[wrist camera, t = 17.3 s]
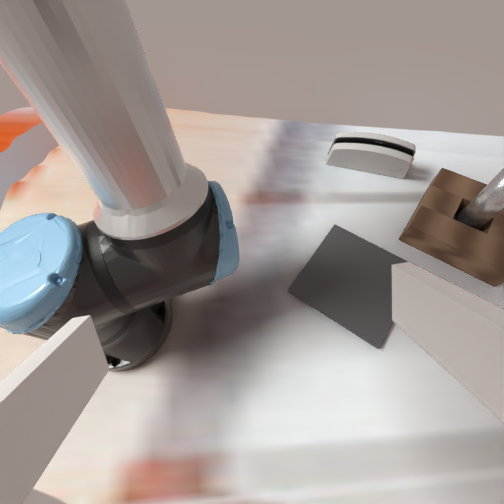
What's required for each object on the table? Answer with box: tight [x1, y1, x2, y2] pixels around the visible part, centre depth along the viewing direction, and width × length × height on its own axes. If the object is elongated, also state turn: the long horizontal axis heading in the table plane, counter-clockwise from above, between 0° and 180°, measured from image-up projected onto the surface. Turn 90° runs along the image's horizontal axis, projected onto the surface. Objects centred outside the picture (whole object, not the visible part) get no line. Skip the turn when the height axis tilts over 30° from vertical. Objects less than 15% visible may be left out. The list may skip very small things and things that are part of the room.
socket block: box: [399, 168, 504, 286], centre depth 48 cm, size 16×16×4 cm
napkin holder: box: [326, 132, 415, 179], centre depth 56 cm, size 17×5×10 cm, turn 71°
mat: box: [289, 225, 407, 349], centre depth 47 cm, size 16×16×1 cm
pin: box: [454, 168, 504, 230], centre depth 44 cm, size 4×4×15 cm
